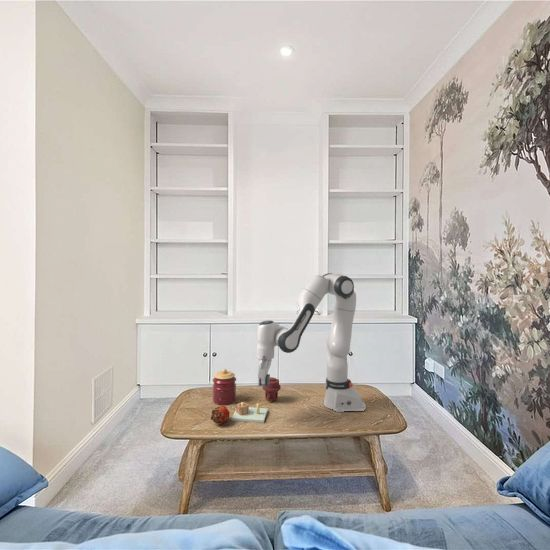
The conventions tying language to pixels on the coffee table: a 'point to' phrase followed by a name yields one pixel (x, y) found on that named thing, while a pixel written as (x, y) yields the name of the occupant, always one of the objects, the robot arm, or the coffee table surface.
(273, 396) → the mechanical component
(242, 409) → the gear board
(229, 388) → the canister
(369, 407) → the coffee table surface
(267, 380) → the loose gear
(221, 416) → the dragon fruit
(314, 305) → the robot arm
